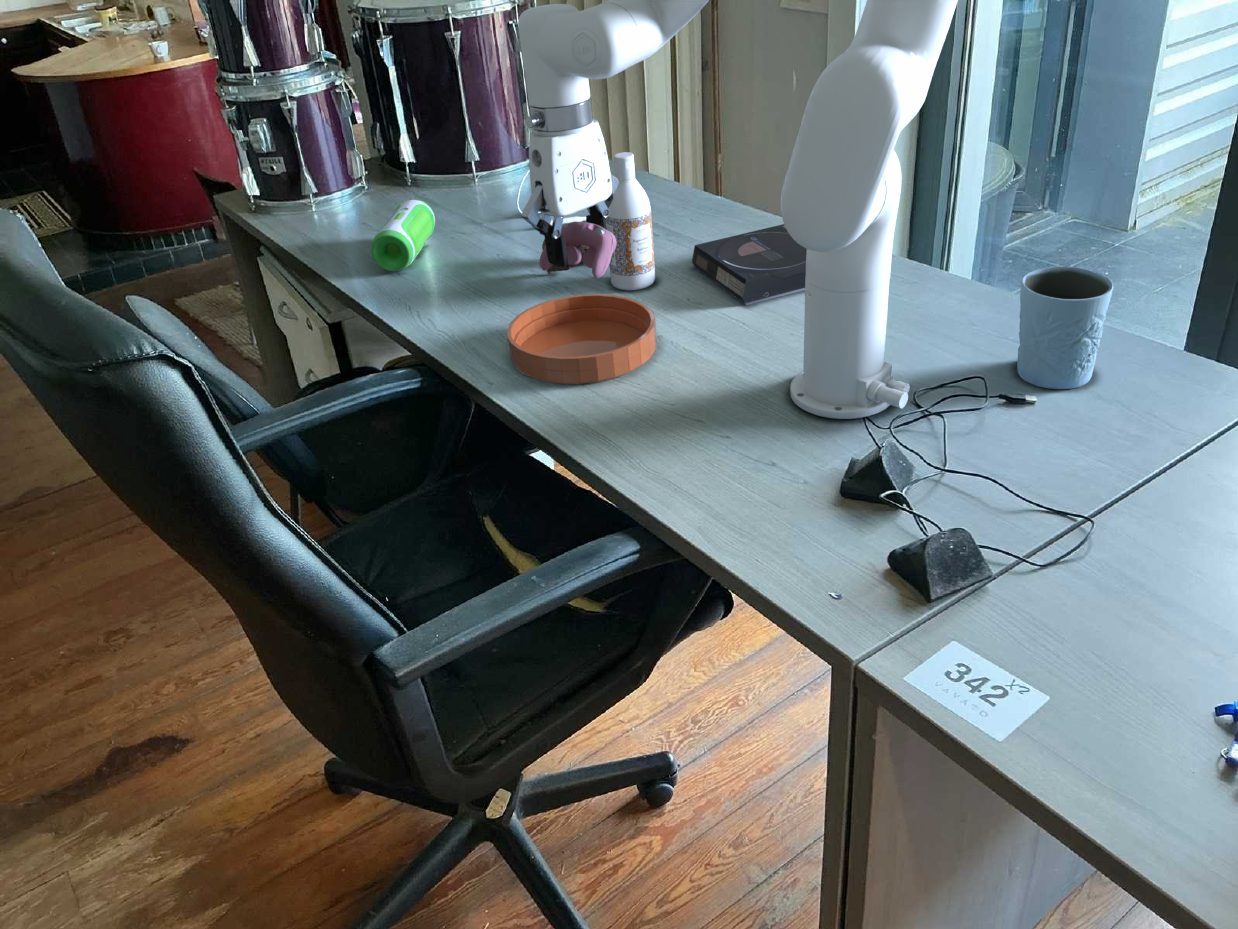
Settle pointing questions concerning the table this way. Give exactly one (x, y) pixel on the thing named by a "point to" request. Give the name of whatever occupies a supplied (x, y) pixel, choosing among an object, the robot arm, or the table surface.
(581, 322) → the catchall bowl
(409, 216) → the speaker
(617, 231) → the bath foam
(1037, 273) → the embossed flower pot
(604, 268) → the video game controller
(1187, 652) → the table surface
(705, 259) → the portable cd player
